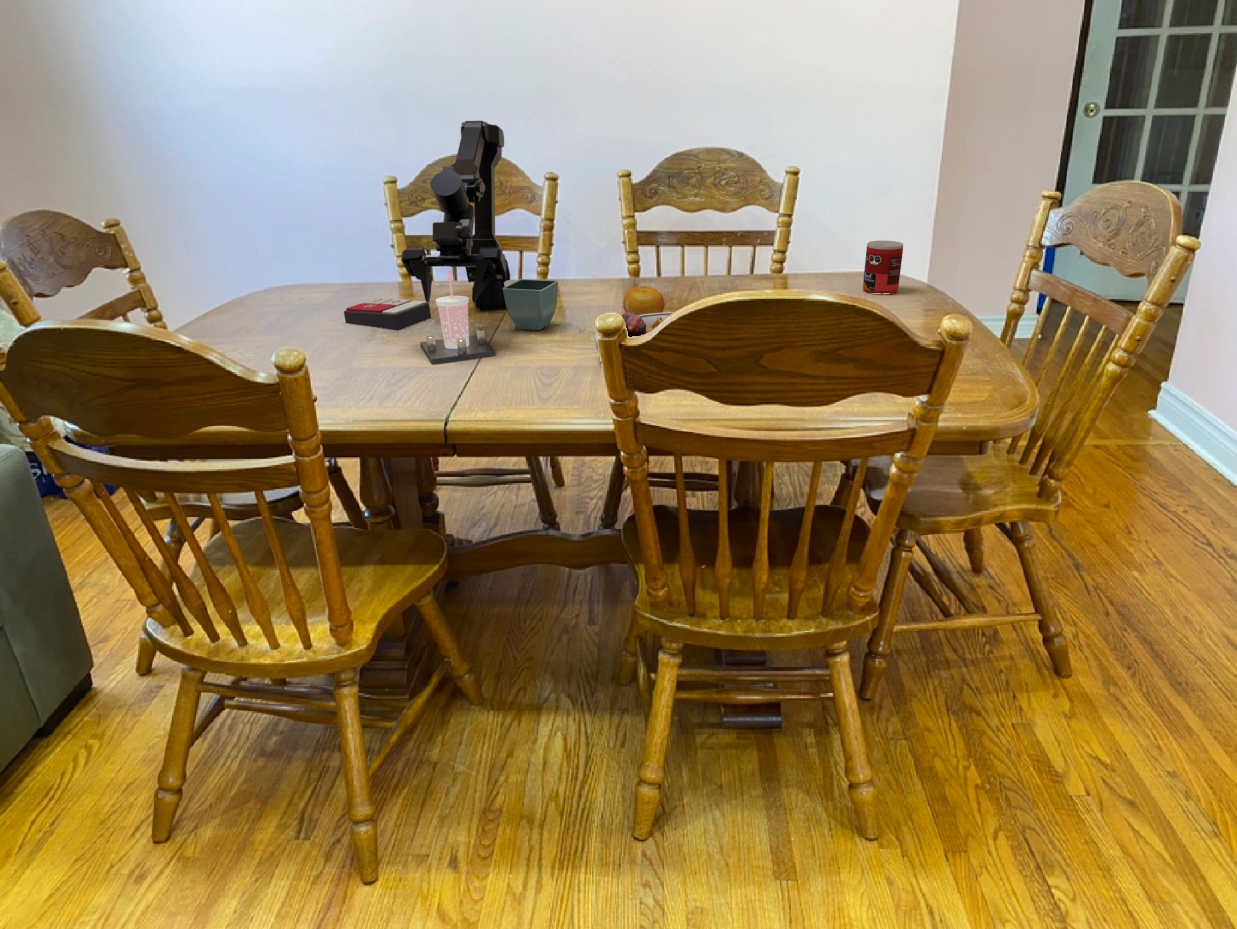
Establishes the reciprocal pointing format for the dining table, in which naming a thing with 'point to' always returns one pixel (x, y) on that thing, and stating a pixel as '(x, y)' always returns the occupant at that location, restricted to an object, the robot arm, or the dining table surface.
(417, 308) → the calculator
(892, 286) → the canned food
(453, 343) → the beverage cup
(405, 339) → the dining table surface
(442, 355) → the chassis plate
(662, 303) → the fruit
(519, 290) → the flower pot
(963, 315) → the dining table surface
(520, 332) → the dining table surface
